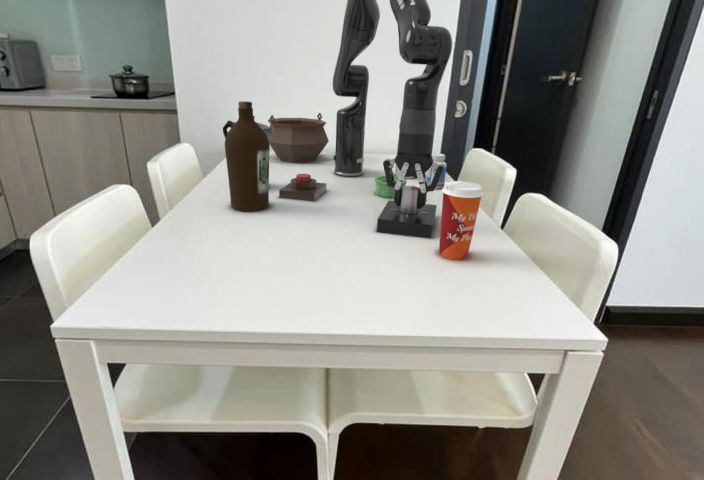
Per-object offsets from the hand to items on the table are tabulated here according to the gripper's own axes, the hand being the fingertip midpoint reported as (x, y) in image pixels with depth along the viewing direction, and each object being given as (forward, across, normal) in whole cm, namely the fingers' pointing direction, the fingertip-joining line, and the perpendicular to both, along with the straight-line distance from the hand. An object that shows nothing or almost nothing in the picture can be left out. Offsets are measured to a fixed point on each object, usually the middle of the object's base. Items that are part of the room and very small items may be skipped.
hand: (409, 206), depth 107 cm
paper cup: (+5, -12, +15) cm, 20 cm away
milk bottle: (+5, +10, -49) cm, 51 cm away
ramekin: (+5, +10, -24) cm, 27 cm away
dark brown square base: (+4, +32, -13) cm, 35 cm away
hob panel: (+4, 0, 0) cm, 4 cm away
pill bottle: (+5, -1, -39) cm, 39 cm away
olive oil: (+5, +40, +3) cm, 40 cm away
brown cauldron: (+5, +54, -59) cm, 80 cm away
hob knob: (+1, 0, 0) cm, 1 cm away
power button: (+1, +32, -13) cm, 35 cm away
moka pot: (+5, +49, -14) cm, 51 cm away
